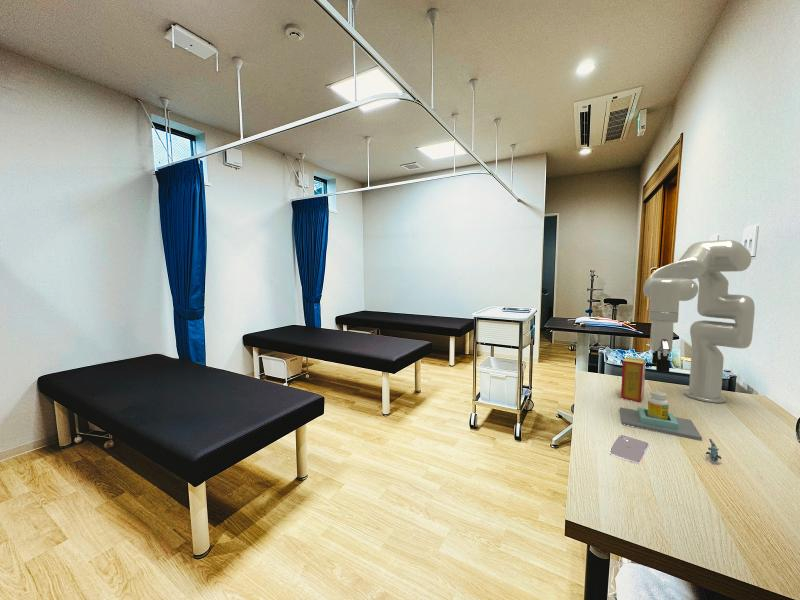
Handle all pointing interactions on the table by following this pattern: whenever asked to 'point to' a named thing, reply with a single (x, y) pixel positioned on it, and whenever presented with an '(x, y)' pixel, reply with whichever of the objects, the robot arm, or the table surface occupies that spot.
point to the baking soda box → (633, 379)
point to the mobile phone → (629, 448)
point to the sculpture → (713, 454)
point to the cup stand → (660, 423)
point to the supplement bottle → (658, 406)
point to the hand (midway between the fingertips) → (660, 367)
